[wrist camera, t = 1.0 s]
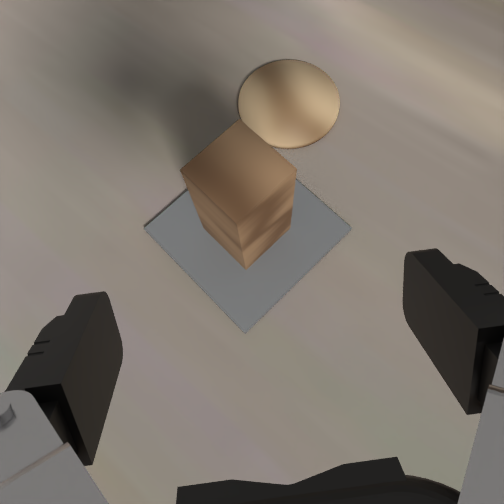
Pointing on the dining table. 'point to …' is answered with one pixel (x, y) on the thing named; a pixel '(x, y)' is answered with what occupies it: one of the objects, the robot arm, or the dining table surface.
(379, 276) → the dining table surface
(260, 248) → the walnut block
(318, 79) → the coaster
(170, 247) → the blue-gray tile
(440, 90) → the dining table surface
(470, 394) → the robot arm
